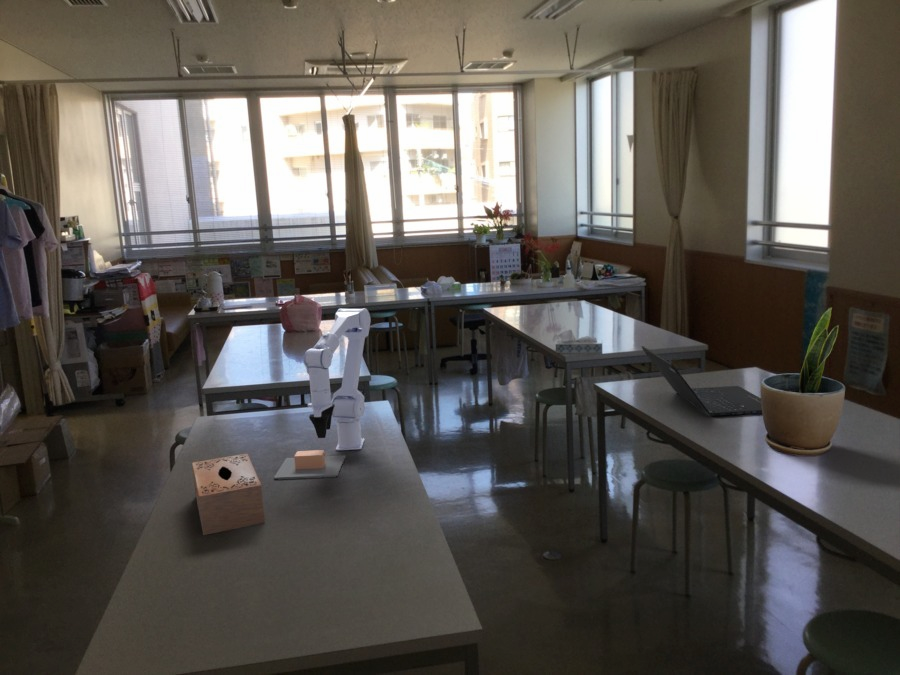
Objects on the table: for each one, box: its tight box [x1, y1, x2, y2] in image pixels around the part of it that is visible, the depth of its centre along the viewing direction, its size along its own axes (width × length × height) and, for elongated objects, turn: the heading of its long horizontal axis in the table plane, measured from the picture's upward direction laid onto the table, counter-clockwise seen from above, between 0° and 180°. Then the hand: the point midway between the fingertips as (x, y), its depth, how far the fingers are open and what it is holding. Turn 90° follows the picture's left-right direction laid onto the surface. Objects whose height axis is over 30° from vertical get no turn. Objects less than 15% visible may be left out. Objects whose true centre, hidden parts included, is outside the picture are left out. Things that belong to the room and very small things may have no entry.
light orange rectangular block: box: [293, 449, 326, 469], centre depth 214 cm, size 8×4×4 cm, turn 90°
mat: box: [273, 455, 347, 480], centre depth 214 cm, size 16×18×1 cm
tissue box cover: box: [191, 452, 266, 536], centre depth 187 cm, size 26×14×10 cm, turn 23°
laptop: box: [641, 345, 762, 417], centre depth 258 cm, size 33×38×19 cm
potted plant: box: [760, 307, 846, 457], centre depth 208 cm, size 21×22×40 cm
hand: (324, 433), depth 216 cm, fingers open, 7 cm apart
